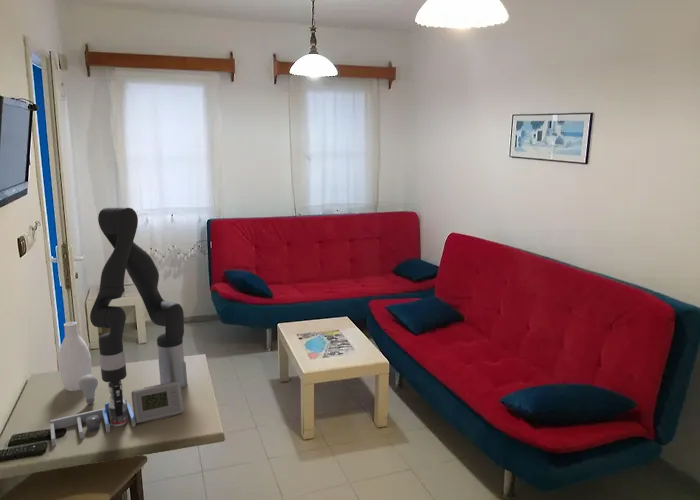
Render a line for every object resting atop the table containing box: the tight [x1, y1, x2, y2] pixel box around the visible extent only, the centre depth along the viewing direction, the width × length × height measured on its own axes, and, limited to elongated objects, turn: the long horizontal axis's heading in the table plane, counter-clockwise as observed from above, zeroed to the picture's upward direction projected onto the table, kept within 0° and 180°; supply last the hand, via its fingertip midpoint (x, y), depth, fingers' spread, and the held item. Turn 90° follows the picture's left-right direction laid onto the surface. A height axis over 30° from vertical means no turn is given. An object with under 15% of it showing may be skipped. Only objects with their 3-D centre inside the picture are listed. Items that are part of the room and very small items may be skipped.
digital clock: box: [131, 382, 185, 424], centre depth 187 cm, size 16×9×11 cm, turn 105°
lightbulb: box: [79, 374, 99, 405], centre depth 195 cm, size 6×6×11 cm
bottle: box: [57, 321, 93, 392], centre depth 208 cm, size 11×11×25 cm
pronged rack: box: [49, 398, 136, 447], centre depth 180 cm, size 24×12×5 cm, turn 120°
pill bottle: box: [108, 395, 129, 427], centre depth 183 cm, size 5×5×10 cm
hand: (118, 411), depth 183 cm, fingers open, 6 cm apart
